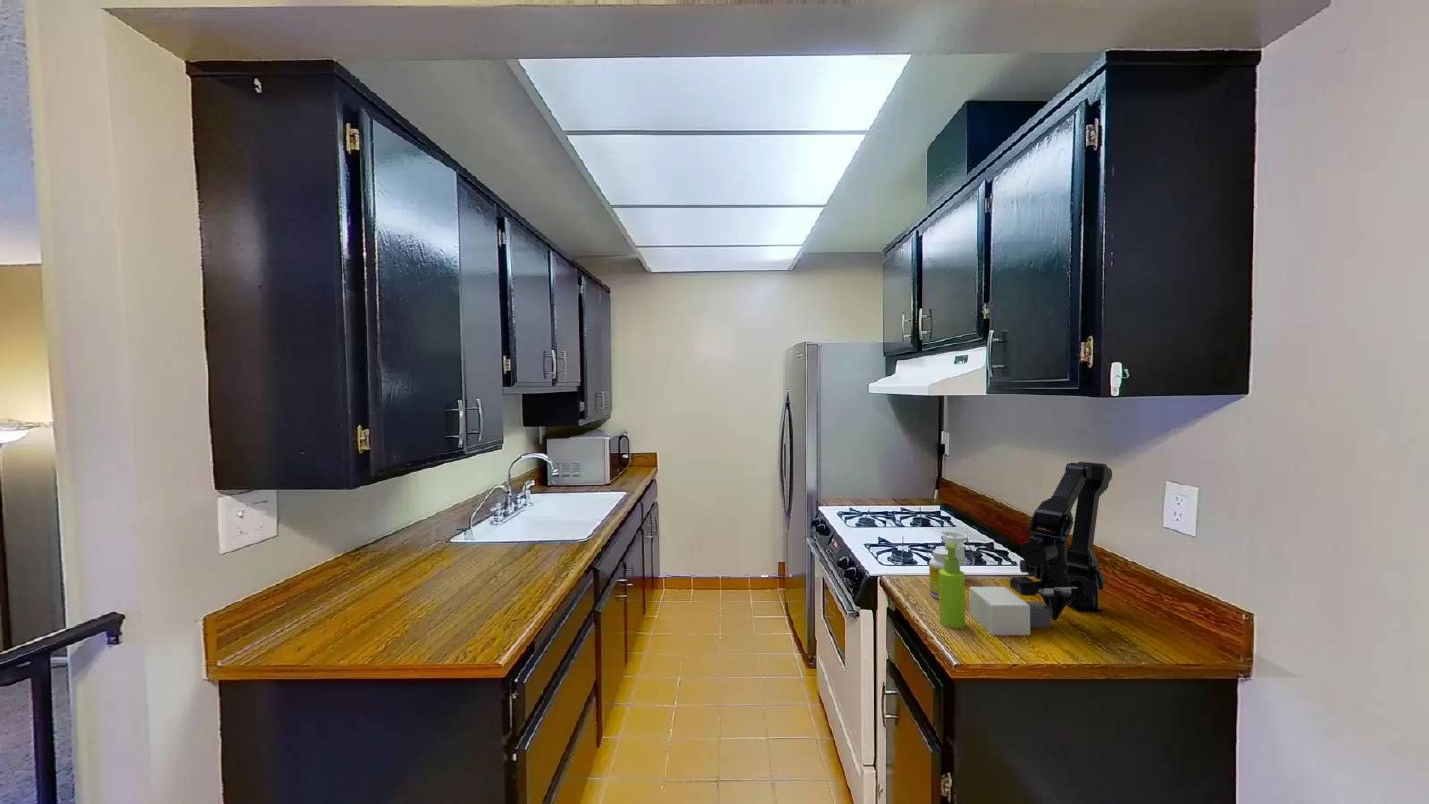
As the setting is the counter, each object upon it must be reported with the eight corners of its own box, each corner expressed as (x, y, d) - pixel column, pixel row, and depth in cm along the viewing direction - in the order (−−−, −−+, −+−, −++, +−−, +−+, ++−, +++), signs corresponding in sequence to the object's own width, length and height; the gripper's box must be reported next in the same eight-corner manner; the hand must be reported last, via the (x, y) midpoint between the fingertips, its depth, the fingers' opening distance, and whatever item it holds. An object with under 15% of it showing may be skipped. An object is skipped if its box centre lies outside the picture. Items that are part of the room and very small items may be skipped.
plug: (1039, 619, 133) (1039, 601, 133) (1050, 627, 128) (1050, 609, 128) (1015, 619, 133) (1014, 601, 133) (1024, 627, 129) (1024, 609, 129)
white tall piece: (943, 574, 167) (942, 527, 166) (967, 577, 164) (967, 529, 163) (941, 581, 160) (941, 533, 160) (967, 584, 157) (966, 535, 157)
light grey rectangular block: (1004, 613, 137) (1004, 586, 137) (1030, 635, 125) (1029, 605, 125) (969, 613, 137) (969, 586, 137) (992, 635, 125) (991, 605, 125)
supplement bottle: (940, 602, 145) (939, 556, 145) (924, 593, 152) (923, 549, 151) (960, 598, 147) (959, 553, 147) (943, 590, 154) (943, 547, 153)
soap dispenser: (966, 619, 134) (965, 542, 134) (963, 630, 128) (962, 549, 128) (941, 614, 137) (940, 539, 137) (938, 625, 131) (937, 546, 131)
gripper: (1070, 547, 138) (1070, 605, 138) (998, 548, 139) (999, 606, 139) (1099, 561, 127) (1100, 624, 127) (1021, 562, 127) (1022, 625, 128)
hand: (1053, 619), depth 130 cm, fingers closed
